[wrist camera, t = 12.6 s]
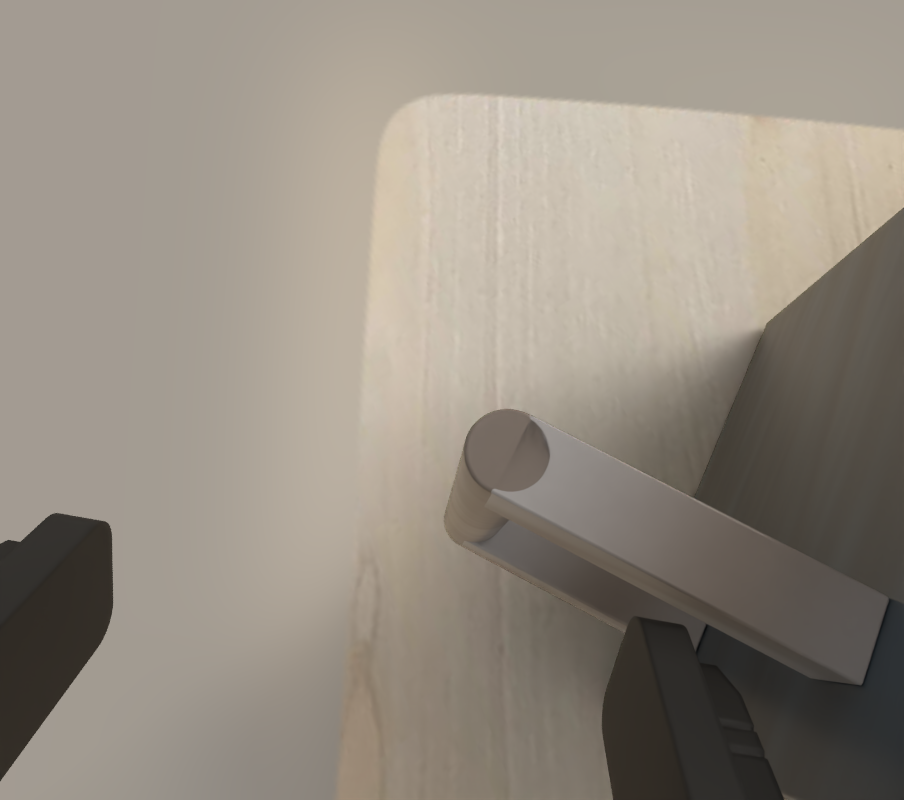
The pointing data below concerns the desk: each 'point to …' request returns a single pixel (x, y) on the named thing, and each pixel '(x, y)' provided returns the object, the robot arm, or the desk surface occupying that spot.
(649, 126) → the desk surface
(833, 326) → the cupboard door
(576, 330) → the desk surface
